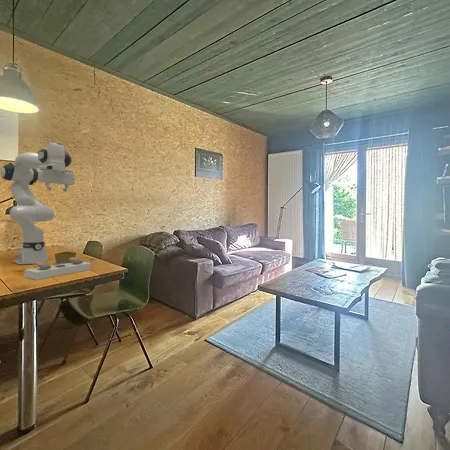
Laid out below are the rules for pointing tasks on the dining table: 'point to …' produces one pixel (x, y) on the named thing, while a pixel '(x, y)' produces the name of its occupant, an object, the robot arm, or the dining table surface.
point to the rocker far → (75, 260)
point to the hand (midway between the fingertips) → (57, 190)
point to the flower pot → (64, 256)
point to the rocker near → (42, 265)
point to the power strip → (56, 270)
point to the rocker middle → (60, 262)
